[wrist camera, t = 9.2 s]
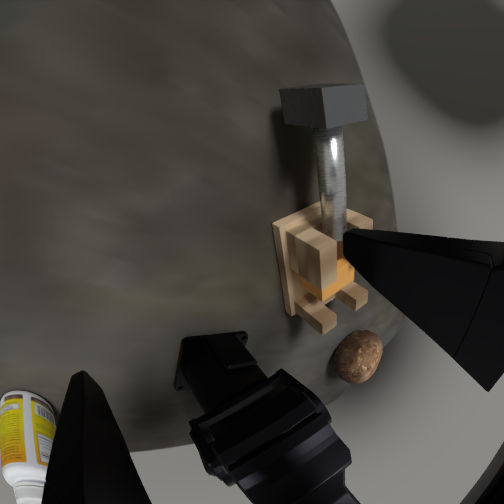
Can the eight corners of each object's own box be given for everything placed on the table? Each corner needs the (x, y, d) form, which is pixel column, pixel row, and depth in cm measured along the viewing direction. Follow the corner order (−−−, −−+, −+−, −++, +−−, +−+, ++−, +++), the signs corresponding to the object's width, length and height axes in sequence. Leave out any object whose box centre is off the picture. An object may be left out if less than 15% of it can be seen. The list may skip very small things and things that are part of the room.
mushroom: (368, 370, 42) (389, 381, 36) (323, 379, 41) (341, 393, 35) (369, 323, 43) (392, 329, 37) (324, 329, 42) (342, 337, 35)
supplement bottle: (-1, 415, 16) (8, 510, 8) (1, 379, 15) (3, 489, 7) (50, 428, 19) (70, 519, 11) (58, 396, 19) (80, 500, 11)
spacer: (332, 266, 28) (353, 280, 26) (301, 286, 27) (322, 301, 25) (332, 245, 27) (354, 258, 25) (299, 264, 26) (321, 279, 23)
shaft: (334, 217, 25) (369, 234, 22) (299, 235, 24) (334, 256, 20) (321, 83, 19) (364, 84, 16) (279, 89, 17) (321, 87, 14)
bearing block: (336, 279, 31) (370, 301, 28) (285, 311, 29) (318, 340, 25) (333, 194, 26) (376, 211, 22) (271, 223, 23) (313, 247, 20)
